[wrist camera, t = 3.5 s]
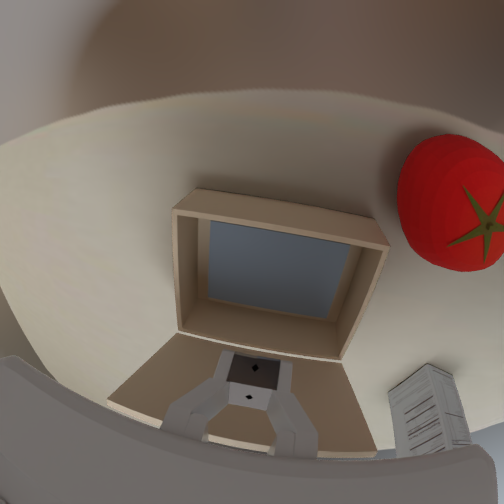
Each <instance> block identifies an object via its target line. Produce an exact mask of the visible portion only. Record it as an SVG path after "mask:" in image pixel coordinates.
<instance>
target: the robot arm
mask: <svg viewBox="0 0 504 504" xmlns="http://www.w3.org/2000/svg"><path fill="white" fill-rule="evenodd" d="M292 367H293V363H292V362H291V361H285V360H280V359H274V358H267V357H261V356H254V355H249V354H245V353H240V352H236V351H231V350H227V349H223V351H222V353H221V356H220V359H219V362H218V365H217V368H216V371H215V374H214V377H213V378H208V379H207V380H205V381H204V382H202V383H201V384H200V385H198V386H197V387H195V388H194V389H192V390H191V391H189V392H188V393H186V394H185V395H183V396H182V397H180V398H179V399H177V400H176V401H174V402H173V403H171V404H170V405H169V408H168V410H167V412H166V415H165V417H164V420H163V422H162V424H161V427H160V429H158V428H155V427H152V426H149V425H147V424H144V423H141V422H139V421H136V420H134V419H131V418H129V417H126V416H124V415H122V414H119V413H117V412H115V411H112V410H110V409H108V408H106V407H104V406H101V405H99V404H97V403H95V402H93V401H91V400H89V399H87V398H85V397H83V396H81V395H79V394H78V393H76V392H74V391H72V390H70V389H68V388H67V387H65V386H63V385H61V384H60V383H58V382H56V381H54V380H53V379H51V378H49V377H48V376H46V375H45V374H43V373H41V372H40V371H38V370H37V369H35V368H34V367H32V366H31V365H29V364H28V363H26V362H25V361H24V360H22V359H21V358H19V357H18V356H14V355H13V356H8V357H5V358H2V359H0V504H498V492H497V477H496V469H495V464H494V461H493V459H492V458H491V456H490V455H489V454H488V453H487V452H486V451H485V450H484V449H483V448H482V447H481V446H480V445H478V444H471V445H468V446H464V447H460V448H456V449H451V450H446V451H441V452H436V453H430V454H424V455H418V456H410V457H402V458H392V459H379V460H357V461H356V460H354V461H338V460H317V451H318V432H317V430H316V429H315V427H314V425H313V424H312V422H311V421H310V419H309V418H308V416H307V414H306V413H305V411H304V410H303V408H302V406H301V405H300V403H299V401H298V400H297V398H296V397H295V395H294V393H290V389H291V378H292ZM228 404H233V405H239V406H244V407H250V408H254V409H259V410H265V411H266V413H267V415H268V417H269V420H270V422H271V424H272V426H273V428H274V431H275V433H276V437H275V439H274V441H273V443H272V445H271V446H270V448H269V450H268V454H267V455H263V454H257V453H250V452H245V451H240V450H235V449H230V448H225V447H221V446H217V445H212V444H208V440H209V435H208V421H210V420H211V419H212V418H213V417H214V416H215V415H217V414H218V413H219V412H220V411H221V410H222V409H223V408H224V407H226V406H227V405H228Z"/></svg>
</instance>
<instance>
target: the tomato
mask: <svg viewBox="0 0 504 504" xmlns="http://www.w3.org/2000/svg"><path fill="white" fill-rule="evenodd" d="M397 206H398V213H399V217H400V221H401V226H402V229H403V232H404V234H405V236H406V238H407V240H408V243H409V245H410V247H411V248H412V249H413V250H414V251H415V252H416V253H417V254H418V255H419V256H421V257H422V258H424V259H425V260H427V261H429V262H430V263H432V264H434V265H438V266H441V267H444V268H447V269H450V270H455V271H460V272H470V271H477V270H482V269H485V268H487V267H489V266H491V265H493V264H494V263H495V262H496V261H497V260H498V259H499V258H500V257H501V255H502V254H503V253H504V162H503V161H502V160H501V159H500V158H499V157H498V156H497V155H495V154H494V153H493V152H492V151H490V150H489V149H487V148H486V147H484V146H483V145H481V144H479V143H478V142H476V141H474V140H472V139H469V138H467V137H464V136H460V135H453V134H445V135H440V136H435V137H432V138H429V139H426V140H424V141H422V142H421V143H420V144H418V145H417V146H416V147H415V148H414V149H413V150H412V152H411V153H410V154H409V155H408V157H407V159H406V161H405V163H404V165H403V167H402V169H401V173H400V177H399V181H398V188H397Z"/></svg>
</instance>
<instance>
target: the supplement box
mask: <svg viewBox="0 0 504 504" xmlns="http://www.w3.org/2000/svg"><path fill="white" fill-rule="evenodd" d="M388 397H389V403H390V409H391V415H392V422H393V429H394V437H395V446H396V456H397V458H402V457H410V456H418V455H424V454H430V453H436V452H441V451H446V450H451V449H456V448H460V447H464V446H468V445H471V444H472V440H471V436H470V432H469V428H468V425H467V421H466V418H465V414H464V410H463V406H462V403H461V400H460V396H459V393H458V390H457V387H456V384H455V381H454V378H453V376H452V375H450V374H448V373H446V372H444V371H442V370H440V369H438V368H436V367H433V366H431V365H429V364H426V365H425V366H424V367H422V368H421V369H420V370H418V371H417V372H416V373H415V374H413V375H412V376H411V377H409V378H408V379H407V380H405V381H404V382H402V383H401V384H400V385H398V386H397V387H395V388H394V389H393V390H391V391H390V392H388Z"/></svg>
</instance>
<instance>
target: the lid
mask: <svg viewBox="0 0 504 504" xmlns="http://www.w3.org/2000/svg"><path fill="white" fill-rule="evenodd" d="M223 349H227V350H231V351H236V352H240V353H245V354H249V355H254V356H261V357H267V358H274V359H280V360H285V361H291V362H292V363H293V367H292V378H291V389H290V393H294V395H295V397H296V398H297V400H298V401H299V403H300V405H301V406H302V408H303V410H304V411H305V413H306V414H307V416H308V418H309V419H310V421H311V422H312V424H313V425H314V427H315V429H316V430H317V432H318V451H317V457H330V458H365V457H374V456H375V455H376V453H377V448H376V446H375V443H374V440H373V438H372V435H371V433H370V430H369V428H368V425H367V423H366V420H365V418H364V416H363V413H362V411H361V408H360V406H359V403H358V401H357V399H356V396H355V394H354V391H353V389H352V387H351V384H350V382H349V380H348V377H347V375H346V373H345V370H344V368H343V366H342V363H335V362H326V361H318V360H311V359H303V358H297V357H290V356H284V355H278V354H272V353H266V352H261V351H255V350H250V349H245V348H240V347H235V346H230V345H225V344H221V343H216V342H212V341H208V340H203V339H199V338H195V337H191V336H187V335H183V334H179V333H176V334H175V335H174V336H173V337H172V338H171V339H170V340H169V341H168V342H167V343H166V344H165V345H164V346H162V347H161V348H160V349H159V350H158V351H157V352H156V353H155V354H154V355H153V356H152V357H151V358H150V359H149V360H148V361H147V362H146V363H144V364H143V365H142V366H141V367H140V368H139V369H138V370H137V371H136V372H135V373H134V374H133V375H132V376H131V377H130V378H128V379H127V380H126V381H125V382H124V383H123V384H122V385H121V386H120V387H119V388H118V389H117V390H116V391H115V392H114V393H112V394H111V395H110V396H109V397H108V398H107V406H110V407H112V408H114V409H116V410H119V411H121V412H123V413H126V414H128V415H131V416H133V417H136V418H138V419H141V420H143V421H146V422H149V423H152V424H154V425H157V426H160V427H161V424H162V422H163V420H164V417H165V415H166V412H167V410H168V408H169V405H170V404H171V403H173V402H174V401H176V400H177V399H179V398H180V397H182V396H183V395H185V394H186V393H188V392H189V391H191V390H192V389H194V388H195V387H197V386H198V385H200V384H201V383H202V382H204V381H205V380H207V379H208V378H213V377H214V374H215V371H216V368H217V365H218V362H219V359H220V356H221V353H222V351H223ZM208 435H209V440H208V441H212V442H217V443H221V444H225V445H230V446H234V447H240V448H245V449H251V450H257V451H263V452H268V450H269V448H270V446H271V445H272V443H273V441H274V439H275V437H276V433H275V431H274V428H273V426H272V424H271V422H270V420H269V417H268V415H267V413H266V411H265V410H259V409H254V408H250V407H244V406H239V405H233V404H228V405H227V406H226V407H224V408H223V409H222V410H221V411H220V412H219V413H218V414H217V415H215V416H214V417H213V418H212V419H211V420H210V421H208Z"/></svg>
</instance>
